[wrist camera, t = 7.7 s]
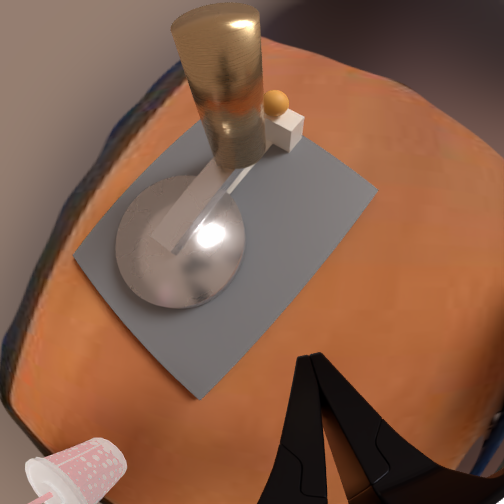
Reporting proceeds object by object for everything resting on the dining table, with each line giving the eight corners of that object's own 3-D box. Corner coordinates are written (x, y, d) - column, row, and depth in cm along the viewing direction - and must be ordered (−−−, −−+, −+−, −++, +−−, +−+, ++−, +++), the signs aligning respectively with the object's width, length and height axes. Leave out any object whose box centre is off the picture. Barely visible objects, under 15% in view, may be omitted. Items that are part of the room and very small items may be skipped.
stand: (203, 397, 19) (178, 423, 13) (78, 257, 23) (35, 240, 17) (374, 194, 22) (402, 158, 16) (232, 100, 26) (224, 56, 20)
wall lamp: (193, 336, 19) (62, 354, 6) (105, 258, 21) (-24, 195, 8) (307, 177, 22) (337, 28, 8) (211, 126, 23) (172, -3, 10)
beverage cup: (81, 462, 17) (-7, 508, 4) (84, 419, 19) (-24, 458, 5) (131, 491, 17) (54, 562, 3) (137, 449, 18) (40, 523, 4)
